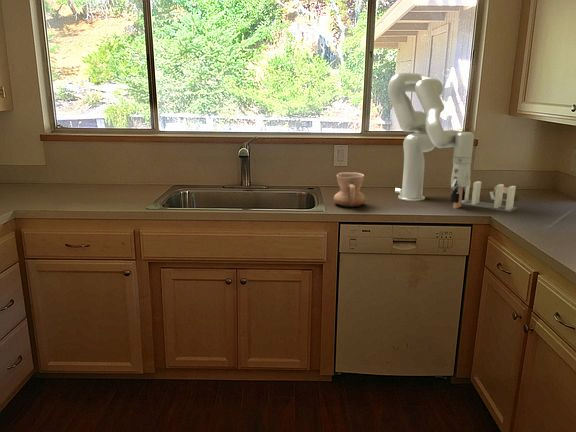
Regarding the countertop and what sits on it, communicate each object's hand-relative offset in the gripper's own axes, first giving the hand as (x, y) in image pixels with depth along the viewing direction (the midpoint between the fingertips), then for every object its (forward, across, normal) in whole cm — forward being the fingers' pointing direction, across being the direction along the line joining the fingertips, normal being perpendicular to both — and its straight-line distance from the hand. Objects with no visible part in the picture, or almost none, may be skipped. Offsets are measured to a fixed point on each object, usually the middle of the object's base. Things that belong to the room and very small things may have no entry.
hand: (457, 200), depth 206 cm
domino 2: (+3, +13, +2) cm, 13 cm away
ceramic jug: (+4, -29, +38) cm, 48 cm away
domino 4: (+3, +13, -13) cm, 19 cm away
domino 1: (+4, 0, 0) cm, 4 cm away
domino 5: (+3, +13, -18) cm, 22 cm away
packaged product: (+4, +36, -7) cm, 37 cm away
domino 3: (+3, +13, -3) cm, 14 cm away
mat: (+4, +13, -7) cm, 15 cm away
